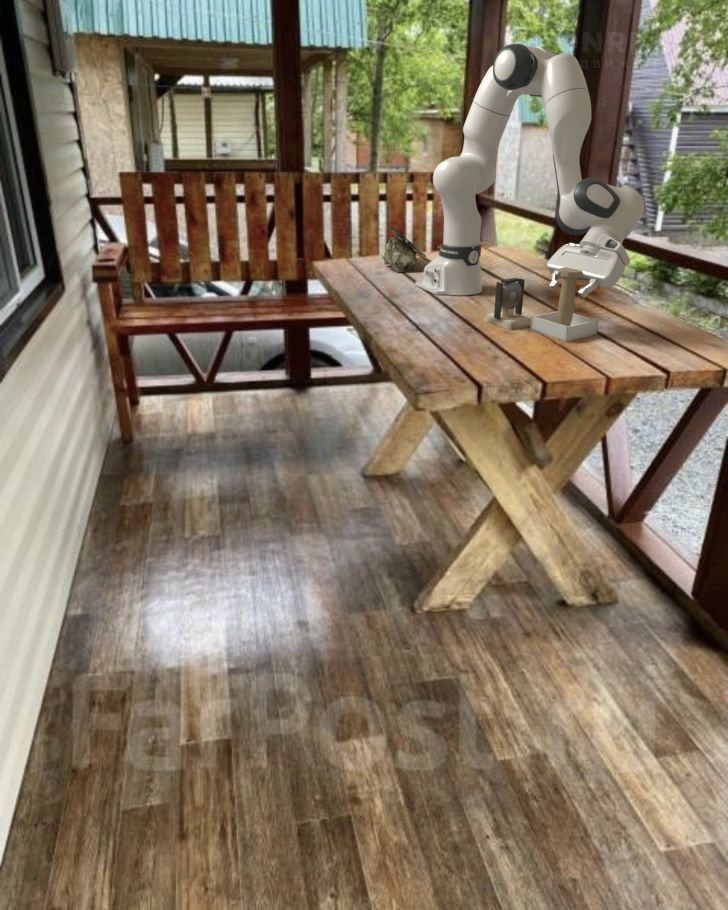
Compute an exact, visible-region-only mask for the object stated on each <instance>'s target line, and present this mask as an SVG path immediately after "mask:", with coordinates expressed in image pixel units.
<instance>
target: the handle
mask: <svg viewBox="0 0 728 910" xmlns="http://www.w3.org/2000/svg"><path fill="white" fill-rule="evenodd" d="M581 272H582V271H581V270H576V269H572V268H567V267H562V268H560V276H561V277H562V278H561V279H562V282H561V289H560V295H559V299H558V306H557V311H558V314H557V322H558V324H561V325H565V326H570V325H571V324H570V323H571V321H572V317H573V313H574V312H575V301H576V285H577V280H576V279H577V278H579V277H581Z"/></svg>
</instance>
